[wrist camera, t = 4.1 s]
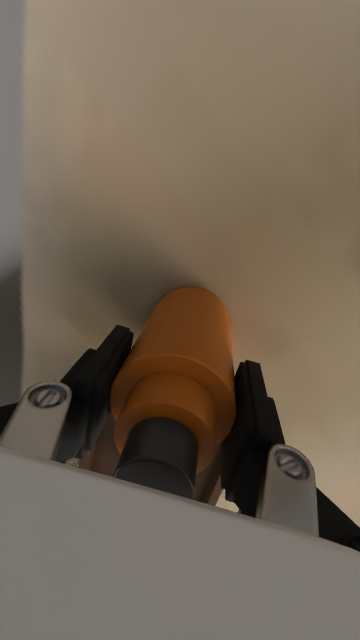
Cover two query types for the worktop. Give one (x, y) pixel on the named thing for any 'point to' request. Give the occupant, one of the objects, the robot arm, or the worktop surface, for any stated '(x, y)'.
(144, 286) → the worktop surface
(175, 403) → the amber bottle
